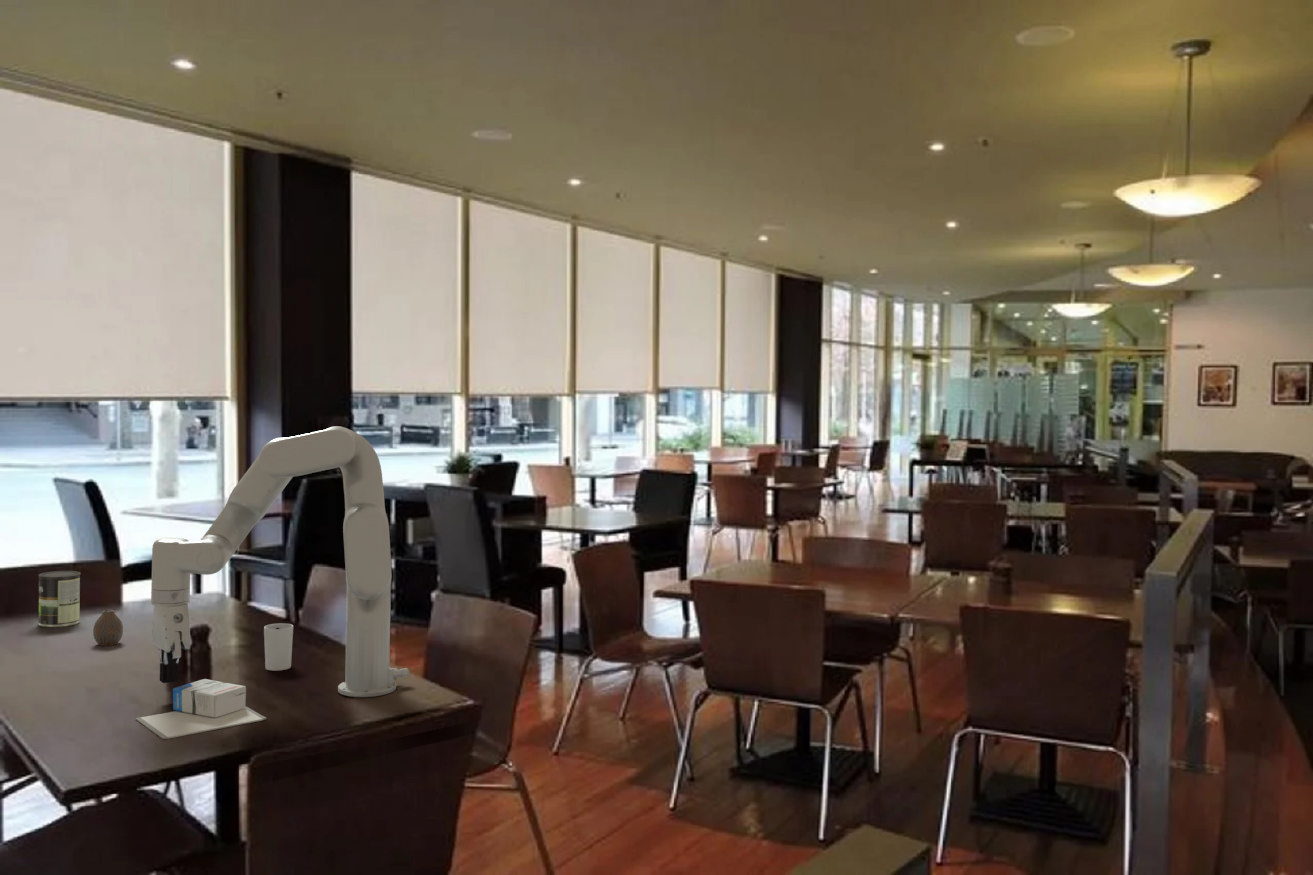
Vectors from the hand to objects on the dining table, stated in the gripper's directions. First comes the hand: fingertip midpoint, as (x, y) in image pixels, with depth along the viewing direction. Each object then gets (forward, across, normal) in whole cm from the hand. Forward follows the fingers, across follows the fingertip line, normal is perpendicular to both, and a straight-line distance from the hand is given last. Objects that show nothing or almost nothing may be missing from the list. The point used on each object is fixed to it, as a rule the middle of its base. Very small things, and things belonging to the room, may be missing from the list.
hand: (168, 681), depth 226 cm
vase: (+5, +61, -5) cm, 61 cm away
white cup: (+4, +12, -29) cm, 32 cm away
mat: (+4, -18, 0) cm, 19 cm away
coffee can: (+5, +95, -2) cm, 95 cm away
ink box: (+1, -8, -1) cm, 8 cm away
